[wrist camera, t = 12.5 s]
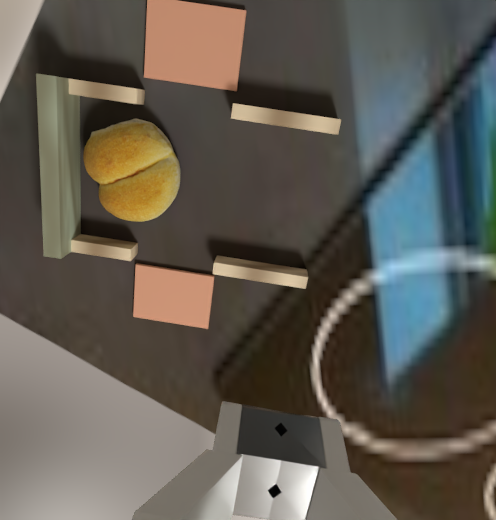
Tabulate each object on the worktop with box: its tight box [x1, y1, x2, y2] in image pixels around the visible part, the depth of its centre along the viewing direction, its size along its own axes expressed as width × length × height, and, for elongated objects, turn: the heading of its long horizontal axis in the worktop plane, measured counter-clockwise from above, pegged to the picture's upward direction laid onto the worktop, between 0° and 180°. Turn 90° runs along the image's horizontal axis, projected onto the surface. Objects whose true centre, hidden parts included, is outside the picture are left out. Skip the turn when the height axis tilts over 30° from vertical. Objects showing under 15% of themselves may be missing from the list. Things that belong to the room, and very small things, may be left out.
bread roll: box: [84, 119, 181, 221], centre depth 36 cm, size 8×9×4 cm
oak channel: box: [36, 73, 341, 289], centre depth 36 cm, size 24×15×4 cm, turn 82°
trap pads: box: [133, 0, 246, 329], centre depth 37 cm, size 8×29×1 cm, turn 172°
